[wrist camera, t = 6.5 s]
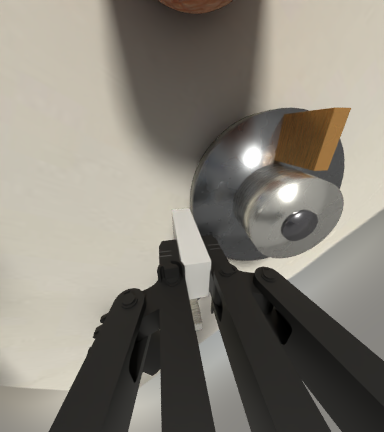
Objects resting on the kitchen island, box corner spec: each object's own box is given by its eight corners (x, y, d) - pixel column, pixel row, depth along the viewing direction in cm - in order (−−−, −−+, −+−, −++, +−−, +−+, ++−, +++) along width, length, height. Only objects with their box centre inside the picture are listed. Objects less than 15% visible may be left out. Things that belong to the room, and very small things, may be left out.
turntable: (190, 257, 24) (201, 302, 17) (189, 108, 15) (207, 94, 9) (302, 244, 26) (345, 279, 20) (353, 111, 18) (454, 101, 12)
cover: (230, 232, 20) (249, 266, 16) (236, 167, 16) (264, 187, 11) (290, 225, 21) (325, 255, 16) (311, 161, 17) (366, 177, 12)
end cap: (168, 322, 31) (169, 367, 25) (137, 338, 31) (132, 386, 26) (132, 295, 26) (123, 344, 20) (97, 315, 27) (79, 368, 21)
